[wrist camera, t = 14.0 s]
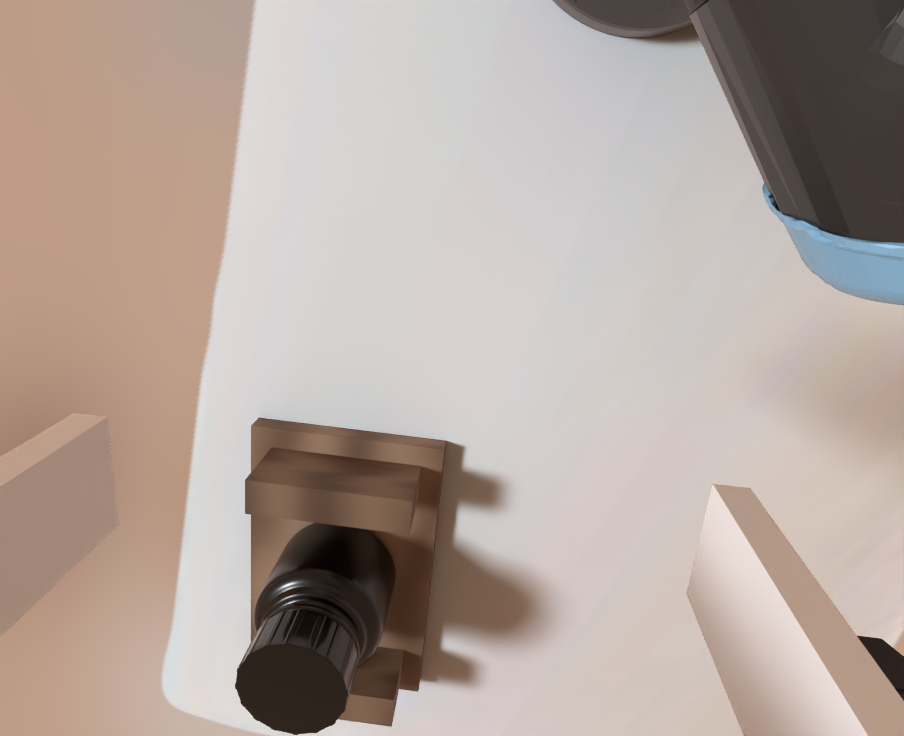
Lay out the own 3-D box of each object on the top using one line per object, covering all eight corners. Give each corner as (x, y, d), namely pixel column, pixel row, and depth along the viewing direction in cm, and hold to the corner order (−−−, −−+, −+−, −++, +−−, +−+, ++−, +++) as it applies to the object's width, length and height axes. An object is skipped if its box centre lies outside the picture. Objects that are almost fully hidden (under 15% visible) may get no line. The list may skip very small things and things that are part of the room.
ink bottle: (256, 566, 49) (184, 687, 38) (323, 491, 47) (266, 597, 35) (355, 636, 51) (313, 774, 39) (424, 567, 48) (401, 693, 37)
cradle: (445, 440, 46) (437, 483, 40) (420, 677, 53) (410, 744, 47) (258, 417, 47) (222, 456, 41) (257, 655, 54) (226, 718, 48)
